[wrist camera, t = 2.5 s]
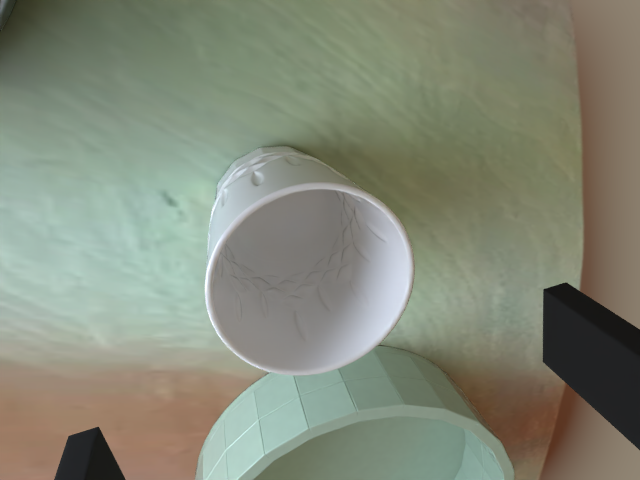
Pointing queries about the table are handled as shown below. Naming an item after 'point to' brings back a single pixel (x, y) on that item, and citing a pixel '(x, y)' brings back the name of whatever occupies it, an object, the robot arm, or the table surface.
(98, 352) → the table surface
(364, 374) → the bowl
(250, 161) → the white cup
